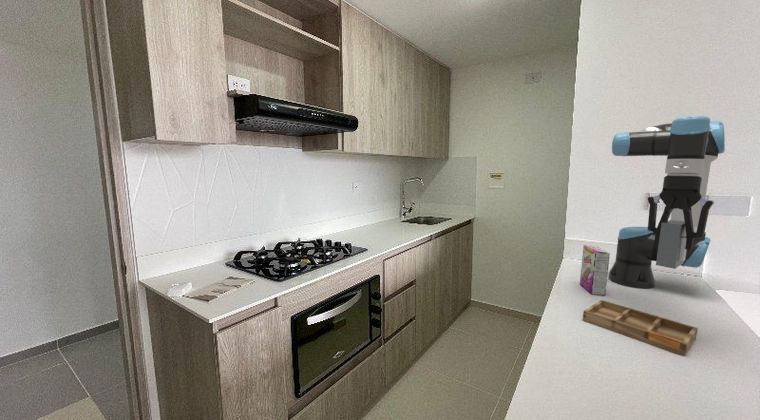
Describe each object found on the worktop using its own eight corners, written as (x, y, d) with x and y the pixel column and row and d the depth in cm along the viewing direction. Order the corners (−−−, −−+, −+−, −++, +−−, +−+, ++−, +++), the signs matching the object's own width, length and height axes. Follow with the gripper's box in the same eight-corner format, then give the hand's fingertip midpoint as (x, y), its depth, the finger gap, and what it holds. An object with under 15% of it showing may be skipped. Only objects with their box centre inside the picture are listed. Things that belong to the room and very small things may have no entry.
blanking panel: (665, 260, 95) (671, 220, 93) (683, 263, 92) (689, 222, 90) (655, 265, 89) (661, 222, 87) (674, 268, 86) (681, 224, 84)
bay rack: (600, 308, 107) (601, 299, 106) (695, 338, 88) (697, 326, 88) (582, 320, 98) (583, 310, 97) (684, 356, 79) (686, 344, 79)
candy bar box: (578, 284, 129) (582, 244, 127) (592, 285, 128) (596, 245, 126) (590, 294, 118) (595, 251, 116) (605, 296, 117) (610, 252, 115)
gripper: (639, 174, 92) (629, 253, 94) (726, 175, 78) (711, 268, 81) (647, 174, 96) (637, 250, 99) (730, 176, 83) (716, 264, 85)
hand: (670, 258), depth 90 cm, fingers closed on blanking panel, 4 cm apart
